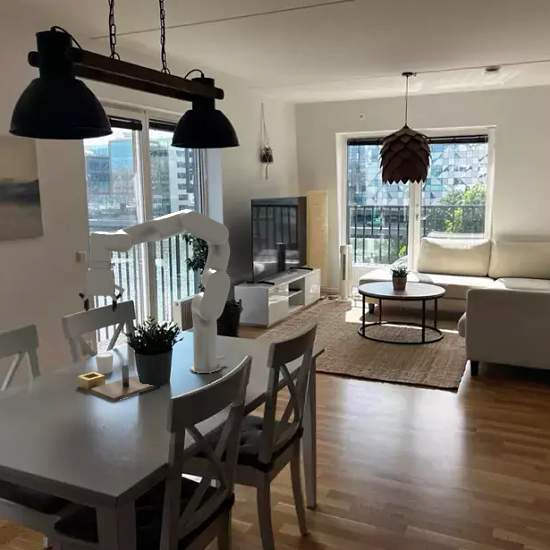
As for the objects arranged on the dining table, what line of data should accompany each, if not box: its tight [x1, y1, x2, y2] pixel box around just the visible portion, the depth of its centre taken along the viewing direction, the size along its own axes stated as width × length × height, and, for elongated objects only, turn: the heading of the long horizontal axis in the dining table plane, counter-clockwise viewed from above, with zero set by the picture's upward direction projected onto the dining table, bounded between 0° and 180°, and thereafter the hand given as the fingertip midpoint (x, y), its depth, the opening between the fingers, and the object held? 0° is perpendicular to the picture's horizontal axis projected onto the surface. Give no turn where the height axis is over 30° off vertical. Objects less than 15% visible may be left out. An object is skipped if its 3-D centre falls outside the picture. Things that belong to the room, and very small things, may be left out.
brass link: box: [77, 371, 106, 392], centre depth 211 cm, size 7×7×4 cm
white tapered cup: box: [95, 352, 114, 375], centre depth 228 cm, size 7×7×7 cm
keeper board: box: [90, 374, 154, 403], centre depth 208 cm, size 20×14×2 cm
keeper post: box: [121, 363, 130, 387], centre depth 207 cm, size 2×2×8 cm
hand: (100, 310), depth 212 cm, fingers open, 9 cm apart
